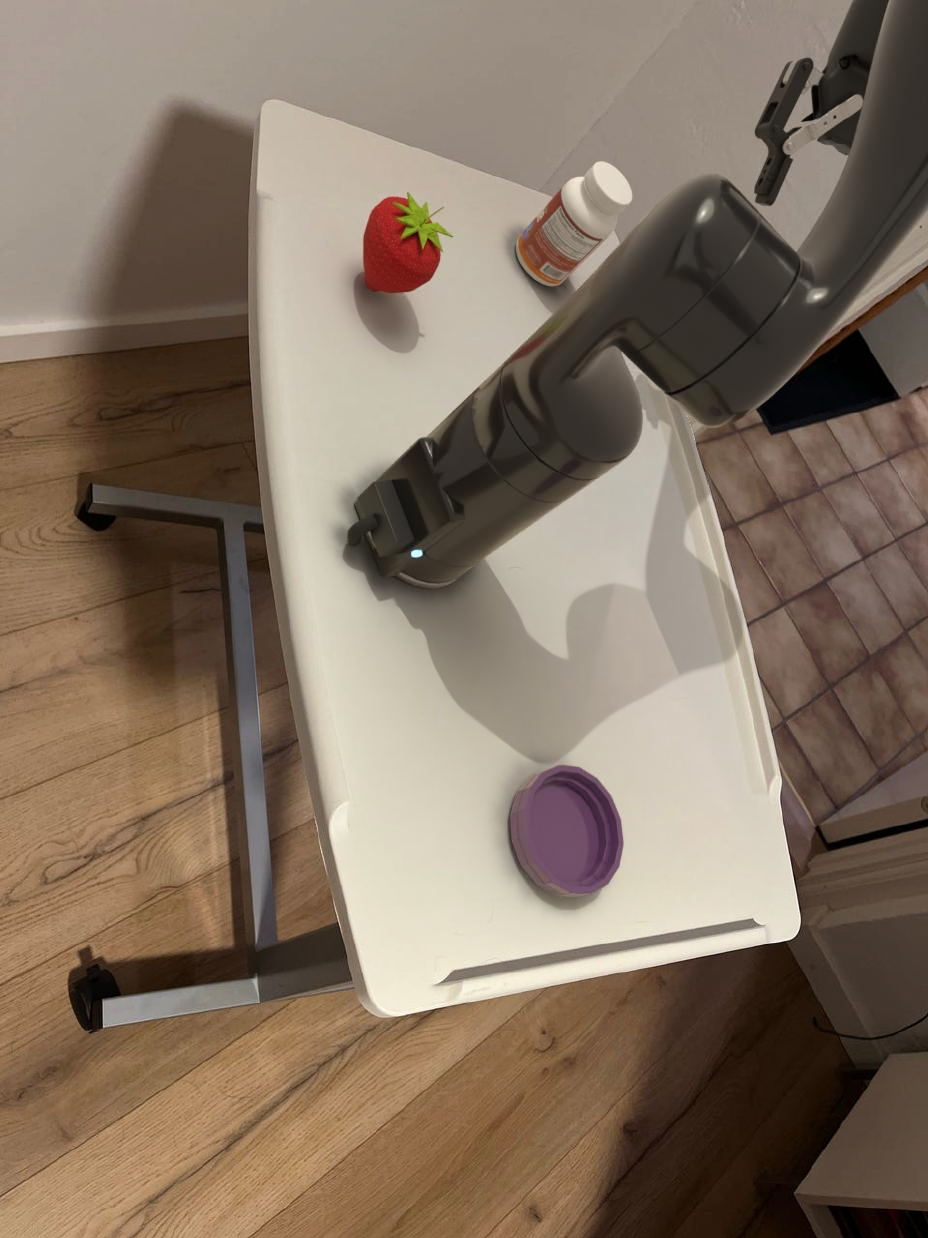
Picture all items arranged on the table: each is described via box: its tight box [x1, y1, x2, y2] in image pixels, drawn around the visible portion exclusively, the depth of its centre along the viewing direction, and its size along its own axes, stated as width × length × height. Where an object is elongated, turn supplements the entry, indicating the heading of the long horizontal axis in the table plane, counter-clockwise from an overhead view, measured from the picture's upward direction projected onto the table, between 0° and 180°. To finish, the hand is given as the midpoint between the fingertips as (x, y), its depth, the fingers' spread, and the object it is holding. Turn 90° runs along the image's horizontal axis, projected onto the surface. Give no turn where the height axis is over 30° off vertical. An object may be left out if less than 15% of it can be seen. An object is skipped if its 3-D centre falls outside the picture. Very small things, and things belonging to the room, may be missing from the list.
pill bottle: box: [515, 161, 633, 287], centre depth 85 cm, size 6×6×11 cm
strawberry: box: [362, 191, 454, 294], centre depth 71 cm, size 6×8×10 cm
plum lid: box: [509, 764, 625, 898], centre depth 65 cm, size 9×9×2 cm
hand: (803, 222), depth 77 cm, fingers open, 8 cm apart
